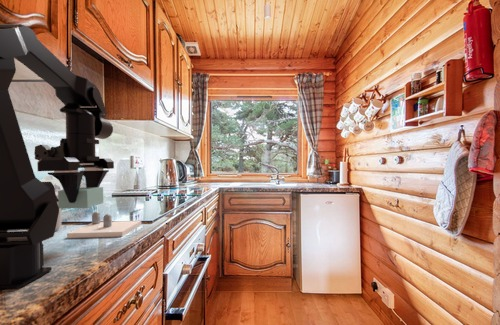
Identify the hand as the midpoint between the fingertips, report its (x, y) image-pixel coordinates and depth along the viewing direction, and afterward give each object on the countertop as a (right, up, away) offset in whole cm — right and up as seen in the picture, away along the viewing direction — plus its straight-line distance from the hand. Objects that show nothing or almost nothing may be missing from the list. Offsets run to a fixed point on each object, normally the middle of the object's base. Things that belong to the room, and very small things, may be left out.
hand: (82, 200), depth 58 cm
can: (-18, -11, +11) cm, 24 cm away
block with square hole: (0, -1, 0) cm, 1 cm away
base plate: (0, -10, +11) cm, 15 cm away
